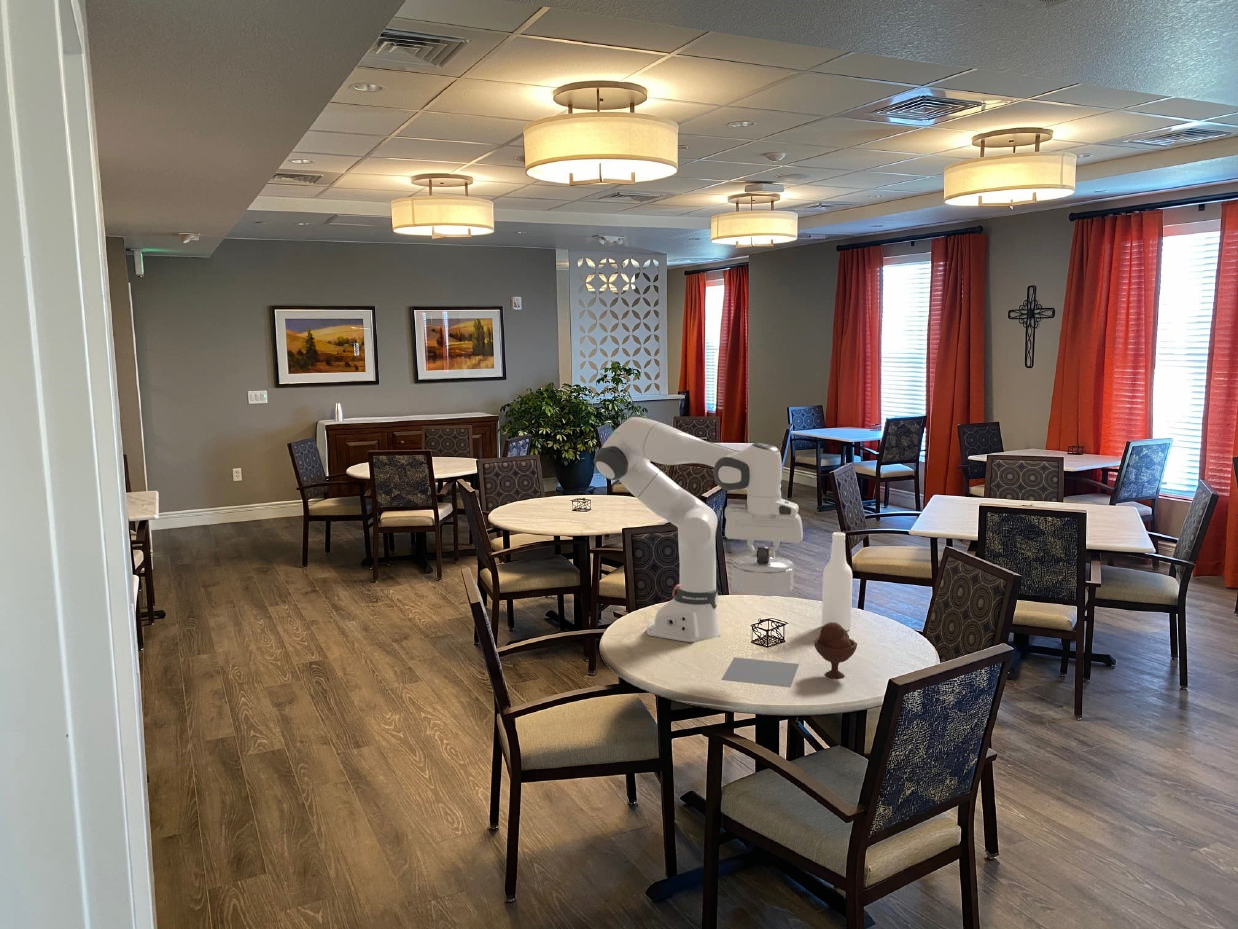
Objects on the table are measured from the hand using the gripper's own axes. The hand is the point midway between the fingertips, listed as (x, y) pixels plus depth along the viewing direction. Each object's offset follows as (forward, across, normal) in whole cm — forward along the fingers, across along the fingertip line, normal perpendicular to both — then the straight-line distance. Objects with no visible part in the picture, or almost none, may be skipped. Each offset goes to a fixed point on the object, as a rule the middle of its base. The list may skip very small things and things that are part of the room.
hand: (763, 557), depth 239 cm
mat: (+32, 0, 0) cm, 32 cm away
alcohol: (+32, +16, +46) cm, 58 cm away
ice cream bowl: (+32, +19, +3) cm, 37 cm away
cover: (+8, 0, 0) cm, 8 cm away
